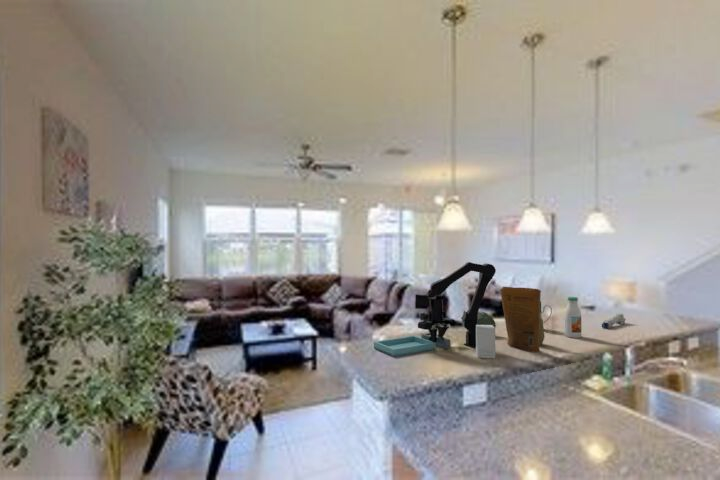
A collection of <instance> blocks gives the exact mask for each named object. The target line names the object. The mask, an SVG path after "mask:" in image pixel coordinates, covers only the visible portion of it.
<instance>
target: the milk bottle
mask: <svg viewBox="0 0 720 480" xmlns="http://www.w3.org/2000/svg"><path fill="white" fill-rule="evenodd" d="M578 302H579V297H577V296H568V297H567V305H566V308H565V310H564V317H563V320H564V325H563V327H564V328H563V329H564V334H563V335H564V336H565V337H567V338H571V339H579V338H582V311H581V309H580V307H579V304H578Z"/></svg>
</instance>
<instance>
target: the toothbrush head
mask: <svg viewBox="0 0 720 480" xmlns="http://www.w3.org/2000/svg"><path fill="white" fill-rule="evenodd" d="M615 324H617V325H625V324H626V317H625V316H624V313H622V312H616V314H615V315H614V316H612V317H610V318H608V319H607V320H603V323H601V328H603V329H605V330H609V329H611V328H612V327H613V325H615Z"/></svg>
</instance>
